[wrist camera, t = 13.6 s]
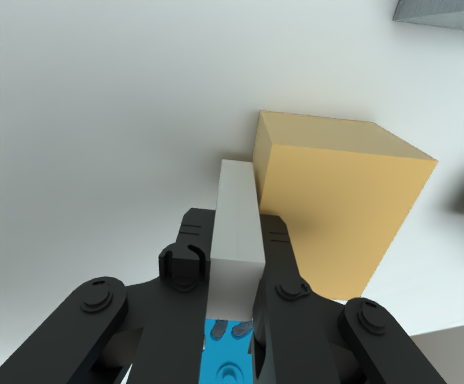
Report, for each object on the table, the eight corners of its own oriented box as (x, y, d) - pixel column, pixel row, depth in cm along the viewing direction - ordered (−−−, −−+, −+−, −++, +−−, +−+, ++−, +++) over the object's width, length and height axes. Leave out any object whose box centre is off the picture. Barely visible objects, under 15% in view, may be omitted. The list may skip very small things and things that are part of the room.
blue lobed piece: (300, 319, 19) (295, 480, 17) (291, 304, 25) (287, 423, 23) (162, 301, 21) (140, 447, 18) (183, 291, 26) (169, 402, 24)
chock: (241, 229, 17) (243, 292, 13) (259, 109, 13) (272, 143, 9) (327, 236, 17) (357, 301, 13) (372, 121, 13) (438, 160, 9)
